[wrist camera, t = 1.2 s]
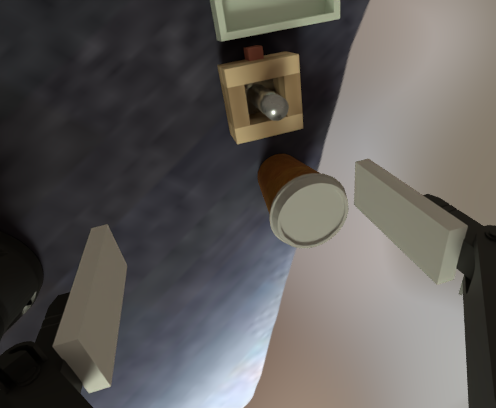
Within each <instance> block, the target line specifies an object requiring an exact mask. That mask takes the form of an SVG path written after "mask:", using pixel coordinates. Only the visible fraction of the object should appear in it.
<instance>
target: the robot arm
mask: <svg viewBox="0 0 496 408" xmlns="http://www.w3.org/2000/svg"><path fill="white" fill-rule="evenodd" d="M354 205H355V206H356V207H357V208H358V209H359V210H360V211H361V212H362V213H363V214H364V215H365V216H366V217H367V218H368V219H369V220H370V221H371V222H373V223H374V224H375V225H376V226H377V227H378V228H379V229H380V230H381V231H382V232H383V233H384V234H385V235H386V236H387V237H388V238H389V239H390V240H391V241H392V242H393V243H394V244H395V245H396V246H397V247H398V248H400V250H402V251H403V252H404V253H405V254H406V255H407V256H408V257H409V258H410V259H411V260H412V261H413V262H414V263H415V264H416V265H417V266H418V267H419V268H420V269H422V271H423V272H424V273H425V274H427V276H429V277H430V278H431V279H432V280H433V281H434V282H435V283H436V284H441V283H444V282H447V281H451V280H454V277H455V273H456V269H458V270H459V271H461V272H462V273H463V274H464V277H463V281H462V284H461V288H460V291H459V294H460V295H462V293H463V301H464V302H463V303H464V323H465V342H466V362H467V382H468V401H469V408H496V226H492V225H487V226H483V225H481V224H480V223H478V222H476V221H475V220H473V219H472V218H470V217H468V216H467V215H466V214H464V213H462V212H461V211H459V210H457V209H456V208H454V207H453V206H452V205H449V204H448V203H447V202H445V201H444V200H442V199H441V198H438V197H435V196H433V195H430V194H426V195H422V194H420V193H419V192H417V191H416V190H414V189H413V188H411V187H410V186H408V185H407V184H405V183H404V182H402V181H401V180H399V179H398V178H396V177H395V176H393V175H392V174H391V173H389V172H388V171H386V170H385V169H383V168H382V167H380V166H379V165H377V164H375V163H374V162H373V161H371V160H370V159H365V160H361V161H357V162H355V193H354ZM126 271H127V264H126V262H125V260H124V258H123V256H122V254H121V252H120V250H119V248H118V245H117V243H116V241H115V239H114V237H113V235H112V233H111V231H110V229H109V227H108V224H107V225H103V226H99V227H95V228H91V231H90V234H89V237H88V240H87V243H86V246H85V249H84V252H83V256H82V259H81V262H80V265H79V268H78V271H77V274H76V277H75V280H74V283H73V286H72V289H71V292H69V293H65V294H62V295H58V296H57V297H56V299H55V300H54V301H53V302H52V304H51V305H50V306H49V308H48V310H47V313H46V316H45V320H44V321H43V323H42V326H41V327H42V329H40V331H39V334H38V336H37V339H36V341H35V343H34V342H32V341H29V342H22V343H19V344H16V345H14V346H13V347H11V348H9V349H8V350H6V351H5V352H4V353H3V354H2V355H1V356H0V389H1V390H0V408H93V407H92V406H91V405H90V404H89V403H88V402H87V400H86V399H85V398H84V397H83V396H82V395H81V394H80V393H81V389H82V385H83V386H84V387H85V389H86V390H87V391H88V392H89V393H91V392H95V391H98V390H101V389H104V388H107V387H111V382H112V374H113V367H114V360H115V352H116V345H117V338H118V330H119V323H120V315H121V308H122V301H123V293H124V286H125V279H126ZM42 283H43V270H42V266H41V264H40V262H39V260H38V258H37V257H36V256H35V254H34V253H33V252H32V251H31V250H30V249H29V248H28V247H27V246H26V245H24V244H23V243H22V242H20V241H19V240H17V239H15V238H13V237H11V236H10V235H7V234H5V233H2V232H0V340H1V338H2V336H3V334H4V333H5V332H6V331H7V330H8V329H9V328H10V327H11V326H12V325H13V324H14V323H15V322H16V321H17V320H18V319H19V318H20V317H21V316H22V315H23V314H24V313H26V311H27V310H28V309H29V308H30V307H31V306H32V305H33V303H34V302H35V300H36V298H37V296H38V294H39V291H40V289H41V287H42Z"/></svg>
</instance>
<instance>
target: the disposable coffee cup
mask: <svg viewBox="0 0 496 408" xmlns="http://www.w3.org/2000/svg"><path fill="white" fill-rule="evenodd" d="M258 183H259V185H260V188H261V191H262V194H263V197H264V200H265V202H266V205H267V208H268V211H269V214H270V218H269V220H270V225H271V229H272V231H273V232H274V234H275V235H276V237H277V238H278V239H280V240H281V241H283V242H285V243H287V244H289V245H290V246H293V247H296V248H312V247H316V246H318V245H321V244H323V243H325V242H326V241H328V240H330V239H331V238H332V237H333V236H335V235H336V233H338V231H339V230H340V229H341V227H342V226H343V224H344V222H345V220H346V218H347V214H348V200H347V197H346V193H345V190H344V188H343V186H342V185H341V183H340V182H338V181H337V180H336V179H335V178H333V177H331V176H328V175H325V174H320V173H319V172H317V171H315V170H314V169H312V168H310V167H309V166H307V165H305V164H303V163H302V162H300V161H298V160H296V159H295V158H293V157H292V156H290V155H287V154H276V155H273V156H271V157H269V158H268V159H266V160H265V161H264V162H263V164H262V165H261V167H260V169H259V171H258Z"/></svg>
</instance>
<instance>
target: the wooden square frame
mask: <svg viewBox="0 0 496 408" xmlns="http://www.w3.org/2000/svg"><path fill="white" fill-rule="evenodd" d="M244 55H245V60H240V61H235V62H230V63H225V64H220V65H218V71H219V76H220V81H221V87H222V92H223V97H224V103H225V108H226V113H227V119H228V124H229V129H230V134H231V136H232V137H233V138H234V140H235V141H236V143H237V144H241V143H245V142H249V141H253V140H258V139H262V138H266V137H270V136H274V135H278V134H283V133H287V132H291V131H295V130H299V129H303V115H302V99H301V83H300V66H299V54H295V53H291V52H287V51H284V52H279V53H274V54H269V55H263V47H262V46H260V45H254V46H249V47H244ZM272 78H273V84H274V92H275V93H276V94H278V95H280V96H281V97H283V98H285V99H286V100H287V102H288V105H289V109H288V113H287V115H286V116H285V117H284V118H283V119H281V120H279V121H273V120H271V119H269V118H268V117H267V116H266V115H265V114H264V113H262V112H259V113H255V114H250V115H249V113H248V107H247V100H246V93H245V87H244V85H245V84H249V83H254V82H259V81H263V80H268V79H272Z"/></svg>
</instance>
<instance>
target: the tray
mask: <svg viewBox="0 0 496 408" xmlns="http://www.w3.org/2000/svg"><path fill="white" fill-rule="evenodd" d="M210 3H211V9H212V15H213V20H214V26H215V31H216V37H217V40H218V41H221V42H222V41H227V40H232V39H238V38H243V37H248V36H253V35H258V34H263V33H269V32H274V31H279V30H284V29H289V28H294V27H300V26H305V25H310V24H315V23H320V22H325V21H331V20H336V19H340V0H210Z"/></svg>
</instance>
